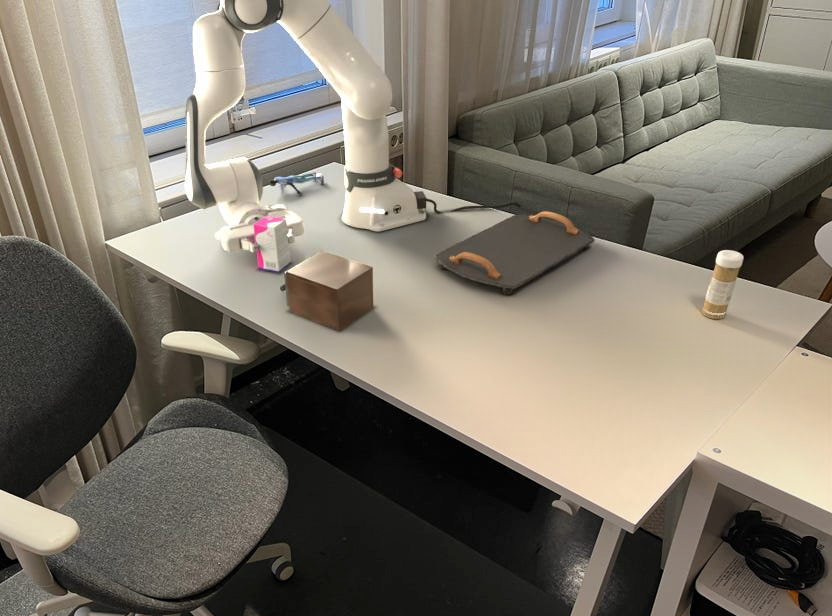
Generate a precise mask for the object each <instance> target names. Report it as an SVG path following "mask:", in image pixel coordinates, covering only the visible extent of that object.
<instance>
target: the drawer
mask: <svg viewBox="0 0 832 616" xmlns="http://www.w3.org/2000/svg"><path fill="white" fill-rule="evenodd" d="M283 278H284V279H283V280H284V284H282V285H281V286H280V287H279V290H280V291H281V292H285V299H286V300H285V301H286V306H288V307H289V300H288V290H287V279H286V271H284V272H283Z"/></svg>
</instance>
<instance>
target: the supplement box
mask: <svg viewBox="0 0 832 616" xmlns="http://www.w3.org/2000/svg"><path fill="white" fill-rule="evenodd" d="M254 233H255V241H256V244H257V245H258V250H259V251H257V252H256V257H257V265H258V270H259V271H265V272H269V273H275V274H280V273H282V272H283V271H284V270H285V269H286V268H288V267H289V266H290V265H291V263H292V262H291V253H290V243H289V242H288V232H287V221H286V219H283V218H276V217H269V216H265V217H264V218H262V219H261V220H259V221H258V222H256V223H255V224H254Z"/></svg>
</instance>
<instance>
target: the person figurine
mask: <svg viewBox="0 0 832 616" xmlns="http://www.w3.org/2000/svg"><path fill="white" fill-rule="evenodd" d="M324 178H325V177H324V175H323V174H322V173H320V172H319V173H317V172H313V173H304V174H301V175H299V174H298V175H297V174H296V175H293V174H291V175H289V176H287V177H283V176H280V175H279V176H276V177H274V179H269V180H268V185H269V186H270V187H275V186H276V185H277V184H279V185H280V186H281V187H287V186H291V188H293V189H294V190H295V191H296V194H297V195H299V196H302V192H301V191H300V190H299V189H298V188H297V187H296V185H295V184H304V183H308V182H311V181H314V182H317V181H319V182H320V184H321V185H322V186H323V185H324V183H325V179H324Z"/></svg>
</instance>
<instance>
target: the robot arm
mask: <svg viewBox="0 0 832 616" xmlns="http://www.w3.org/2000/svg"><path fill="white" fill-rule="evenodd" d="M276 23H278V24H280V26H282V27H283V28H284V29H285V30H286V31H287V32H288V33H289V34H290V36H291V37H292V39H293V40H294V41H295V42H296V43H297V44H298V46H299V47H300V48H301V49H302V50H303V51H304V53H305V54H306V56H308V58H309V59H310V60H311V61H312V63H313V64H314V65H315V66H316V67H317V68H318V70H319V71H320V72H321V74H322V75H323V76H324V78H325V79H326V80H327V82H328V83H329V84H330V86H331V87H332V88H333V89H334V91H335V92H336V93H337V94H338V96H339V97H340V100H341V101H340V102H341V112H342V124H343V135H344V153H345V155H344V156H345V166H344V172H343V177H344V178H343V180H344V181H343V182H344V183H343V185H344V188H345V199H344V205H343V206H344V207H343V212H342V216H341V221H342V222H343V223H344V224H345V225H347V226H349V227H352V228H357V229H362V230H363V229H365V230H369V231H373V232H383V231H387V230H391V229H395V228H398V227H402V226H406V225H407V226H408V225H410V224H415V223H418V222H423V221H425V220H426V219H427V211H426V209H427V202H428V203H431V204H432V205H433V212H434V213H436V214H443V213H445V211H439V210H437V206H438V205H437V202H436V201H434V200H433V199H431V198H427V196H426V194H425V193H424V191H423V190H420V191H414V190H413V189H412V188H411V187H410V186H409V185H407V184H406V183H404V182H403V181H401V180H400V178H401V177H402V176H403V171H402V170H401V169H400V168H399V167H396V166H395V165H394V164H391V163H390V147H389V146H390V143H389V142H390V138H389V137H390V135H389V127H388V119H387V118H388V117H387V114H388V112H389V110H390V108H391V106H392V103H393V86H392V83H391V82H390V79H389V78H388V76H387V75H386V73H385V72H384V71H383V70H382V68H381V67H380V66H379V65H378V63H377V62H376V60H374V58H373V57H372V56H371V55H370V53H369V52H368V51H367V50H366V48H365V47H364V46H363V44H362V43H361V41H360V40H359V39H358V38H357V37H356V35H355V34H354V32H353V31H352V30H351V29H350V28H349V26H348V25H347V24H346V22H345V21H344V20H343V18H342V17H341V16H340V14H339V13H338V12H337V11H336V9H335V8H334V7H333V5H331V3H330V2H329V1H328V0H219V2H218V5H217V8H216V11H215V12H211V13H207V14H204V15H201V16H200V17H199V18H197V19H196V21H194V23H193V26H192V51H193V53H192V54H193V62H194V70H195V85H194V89H193V92H192V94H191V95H189V96H188V97H187V98H186V102H185V103H186V104H185V120H184V121H185V123H184V124H185V125H184V127H185V128H184V129H185V131H184V133H185V171H184V172H185V173H184V191H185V194H186V197H187V199H188V201H189V202H190V203H191V204H192V205H194V206H196V207H197V208H200V209H202V210H206V209H210V208H213V207H216V206H217V205H218V208H219V211H220V214H221V215H222V217H223V219H224V221H225V222H226V223H227V224H228V225H227V226H223V227H221V228H220V229H219V230H218V231H217V232H214V237H215V239H216V240H217V241H220V242H221V247H222V248H223V250H224V252H226V253H234V252H238V251H241V250H242V251H243V250H244V251H250V252H251V253H257V251H259V250H258V245H257V244H256V241H255V233H254V224H255V223H256V222H258V221H259V220H261V219H262V218H264V217H265V216H269V217H276V218H283V219H286V221H287V232H288V242H289V244H293V243H295V237H299V236H303V235H304V233H305V224H304V220H303V219H302V217H300V216H299V215H298V214H297V213H296V212H293V211H291V210H287V208H286V205H284V204H274V205H273V204H272V205H271V204H270V205H266V204H260V202H261V201H262V197H263V193H264V182H263V177H262V173H261V172H260V170H259V168H258V167H257V165H256V164H255V163H254V162H252V160H250V159H249V158H247V157H244V156H243V157H239V158H234V159H228V160H226V161H221V162H216V163H215V162H214V163H210V164H206V131H207V129H208V127H209V126H210V124H211V123H212V122H213V121H214V120H215V119H216V118H218V117H220V116H221V115H222V114H224V113H226V112H227V111H229V110H230V109H232V108H233V107H235V106H236V104H237V103H239V101H240V100H241V99H242V97H243V95H244V94H245V90H246V82H247V81H246V71H245V64H244V63H245V62H244V57H243V48H242V47H243V45H242V44H243V39H244V37H245V35H246V34H247V33H256V32H260V31H262V30H265V29H267V28H268V27H269V26H271V25H273V24H274V25H275V24H276ZM508 206H516V207H518V208H522V205H521V204H520V203H518V202H516V201H511V202H510V201H509V202H507V203H504V204H492V205H465V206H460V207H457V208H453V209H451V210H448V211H447V213H452V212H458V211H462V210H469V209H470V210H471V209H500V208H505V207H508Z"/></svg>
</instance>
